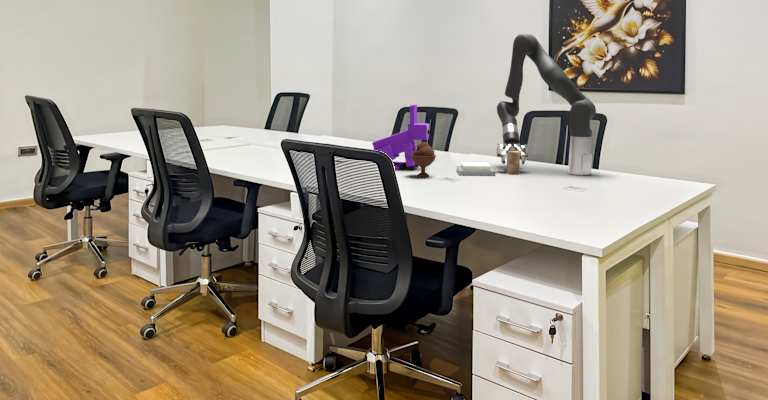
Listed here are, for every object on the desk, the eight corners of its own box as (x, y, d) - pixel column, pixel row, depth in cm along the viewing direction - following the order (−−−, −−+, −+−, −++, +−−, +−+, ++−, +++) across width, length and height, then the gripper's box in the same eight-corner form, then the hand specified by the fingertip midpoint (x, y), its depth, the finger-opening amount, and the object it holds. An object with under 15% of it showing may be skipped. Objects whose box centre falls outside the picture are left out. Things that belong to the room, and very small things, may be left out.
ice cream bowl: (405, 175, 283) (406, 142, 280) (423, 173, 290) (423, 140, 287) (422, 178, 275) (423, 144, 272) (440, 176, 282) (441, 142, 279)
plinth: (490, 170, 300) (490, 161, 299) (495, 175, 284) (495, 166, 284) (456, 169, 300) (456, 161, 300) (459, 175, 285) (459, 166, 284)
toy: (426, 171, 297) (427, 106, 291) (368, 168, 303) (368, 105, 297) (430, 166, 310) (432, 104, 304) (375, 164, 316) (375, 103, 310)
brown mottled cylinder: (517, 172, 295) (518, 150, 293) (519, 174, 290) (520, 152, 288) (506, 172, 295) (507, 150, 293) (508, 173, 290) (509, 152, 288)
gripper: (496, 130, 296) (499, 158, 287) (527, 130, 296) (530, 158, 287) (494, 140, 302) (496, 168, 294) (524, 140, 302) (527, 168, 293)
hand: (513, 163), depth 290 cm, fingers open, 8 cm apart
